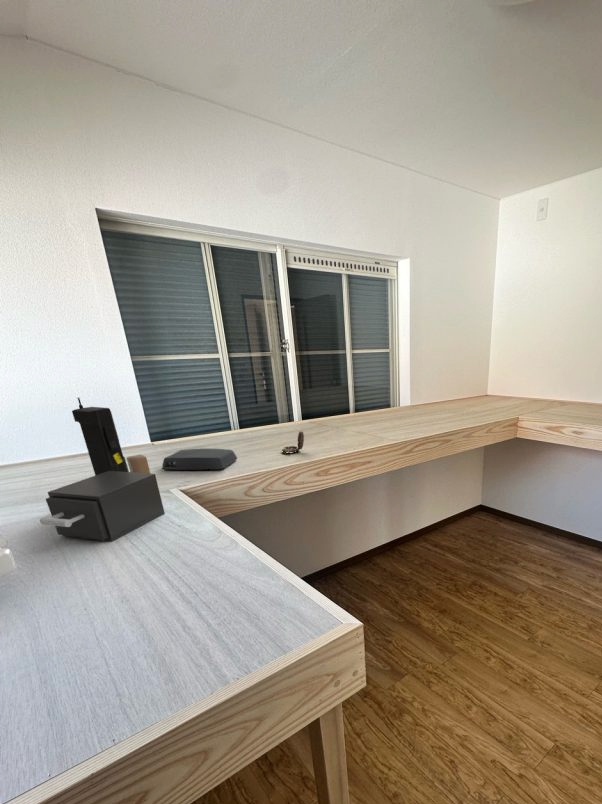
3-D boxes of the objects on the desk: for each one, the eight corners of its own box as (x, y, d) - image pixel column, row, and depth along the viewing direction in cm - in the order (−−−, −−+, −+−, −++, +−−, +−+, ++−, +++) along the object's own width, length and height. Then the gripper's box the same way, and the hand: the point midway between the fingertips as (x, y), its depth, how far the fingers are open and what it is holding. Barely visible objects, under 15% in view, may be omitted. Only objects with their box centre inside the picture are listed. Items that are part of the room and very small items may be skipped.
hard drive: (182, 459, 139) (180, 447, 137) (238, 459, 138) (237, 447, 136) (161, 471, 127) (158, 458, 125) (222, 471, 126) (220, 458, 124)
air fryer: (112, 541, 83) (98, 496, 79) (62, 535, 86) (47, 492, 82) (164, 513, 96) (155, 473, 92) (120, 509, 99) (109, 470, 95)
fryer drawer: (84, 549, 78) (71, 511, 75) (37, 543, 80) (23, 506, 77) (154, 513, 93) (146, 480, 90) (113, 509, 96) (103, 477, 93)
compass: (284, 449, 149) (281, 429, 146) (306, 449, 149) (304, 429, 146) (278, 455, 142) (275, 434, 139) (301, 455, 141) (298, 434, 138)
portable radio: (141, 497, 106) (115, 396, 96) (118, 505, 101) (88, 400, 91) (121, 493, 109) (93, 395, 99) (98, 501, 104) (67, 398, 94)
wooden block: (133, 484, 116) (125, 456, 112) (148, 481, 118) (141, 453, 115) (137, 487, 113) (130, 459, 110) (153, 484, 116) (146, 456, 112)
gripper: (-64, 571, 53) (42, 527, 65) (-169, 555, 58) (-52, 516, 70) (-43, 612, 56) (55, 562, 68) (-146, 593, 60) (-37, 549, 73)
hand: (0, 538), depth 69 cm, fingers closed
